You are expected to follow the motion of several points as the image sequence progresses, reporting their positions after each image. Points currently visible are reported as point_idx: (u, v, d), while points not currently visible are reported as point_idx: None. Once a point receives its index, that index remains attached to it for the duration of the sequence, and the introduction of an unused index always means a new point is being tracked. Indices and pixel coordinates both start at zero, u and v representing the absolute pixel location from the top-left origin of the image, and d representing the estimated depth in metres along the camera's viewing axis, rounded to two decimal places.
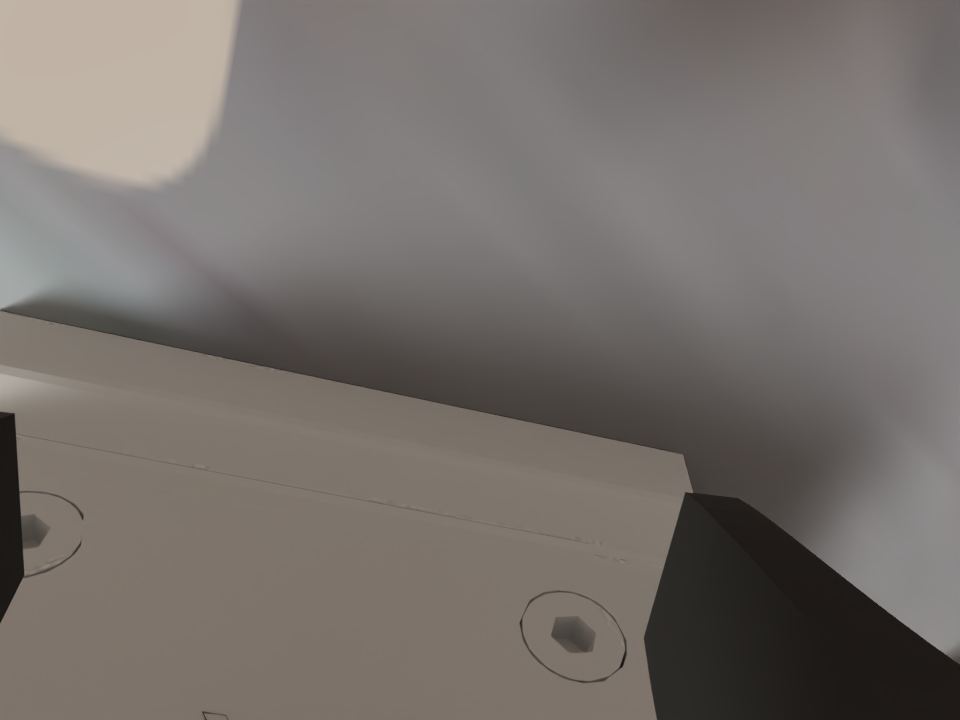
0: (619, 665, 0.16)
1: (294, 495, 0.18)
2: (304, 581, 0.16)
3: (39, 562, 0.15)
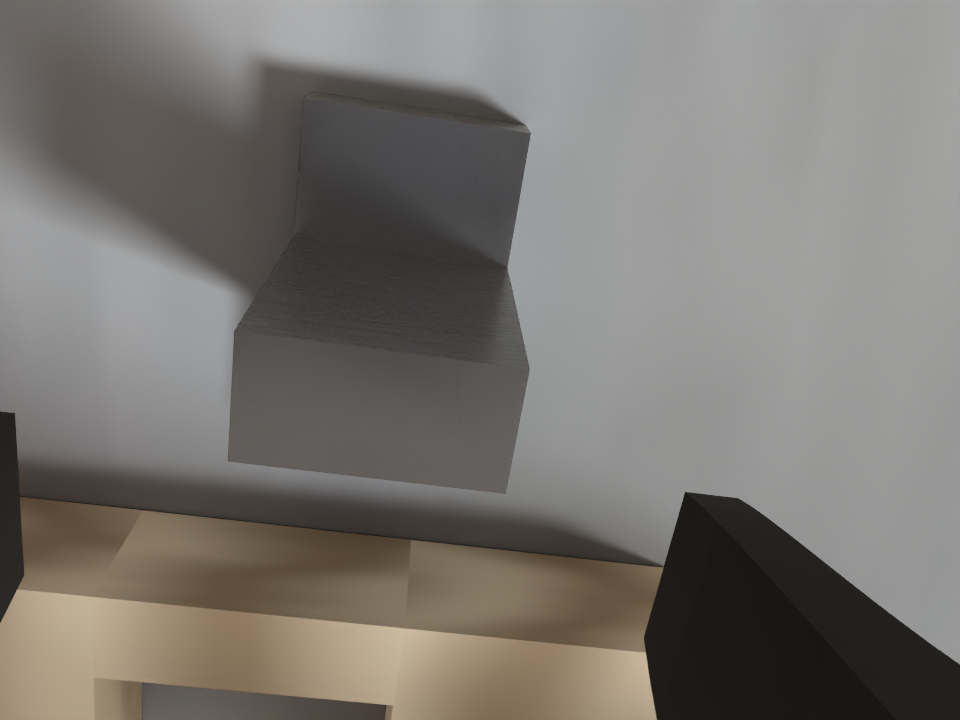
0: None
1: None
2: None
3: None
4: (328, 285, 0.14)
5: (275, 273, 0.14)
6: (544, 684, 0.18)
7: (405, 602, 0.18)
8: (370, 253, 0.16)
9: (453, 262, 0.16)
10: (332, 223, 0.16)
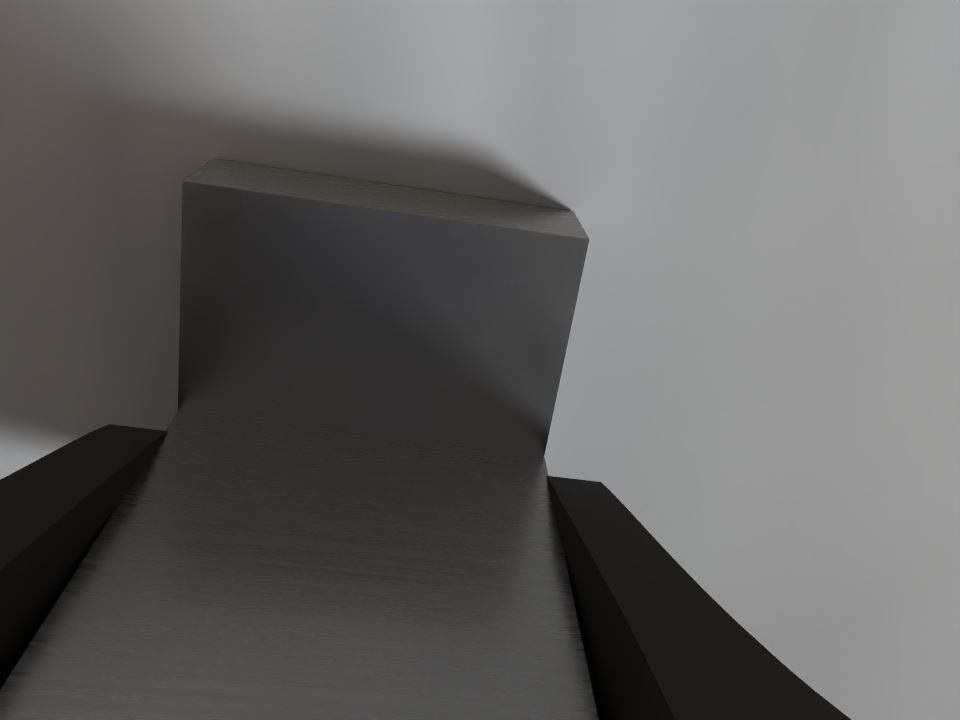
0: None
1: None
2: None
3: None
4: (211, 559, 0.07)
5: (111, 530, 0.07)
6: None
7: None
8: (309, 441, 0.09)
9: (452, 452, 0.09)
10: (243, 389, 0.09)
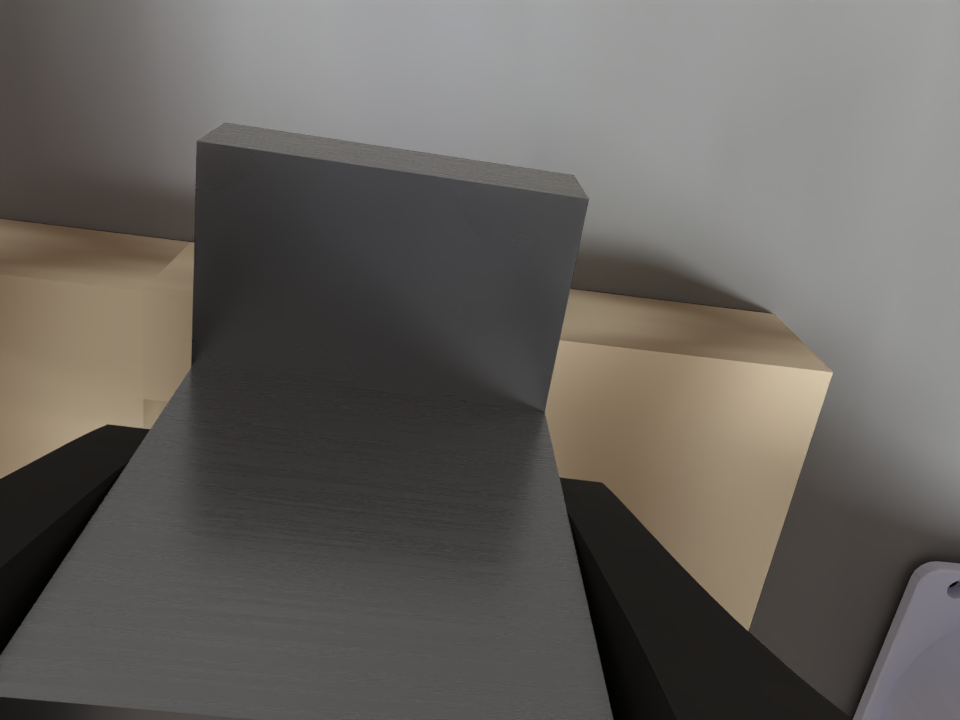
0: None
1: None
2: None
3: None
4: (227, 498, 0.07)
5: (131, 471, 0.08)
6: (655, 407, 0.16)
7: None
8: (318, 394, 0.09)
9: (456, 407, 0.10)
10: (255, 345, 0.10)
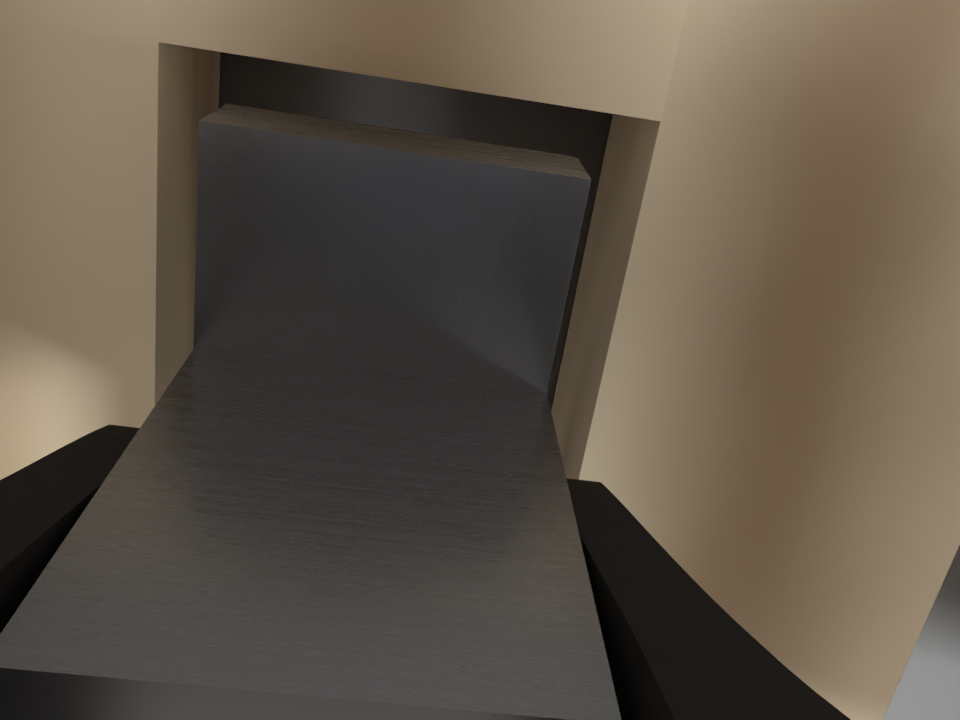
0: None
1: None
2: None
3: None
4: (229, 475, 0.07)
5: (133, 449, 0.08)
6: (919, 81, 0.10)
7: None
8: (320, 376, 0.09)
9: (459, 388, 0.10)
10: (257, 327, 0.10)
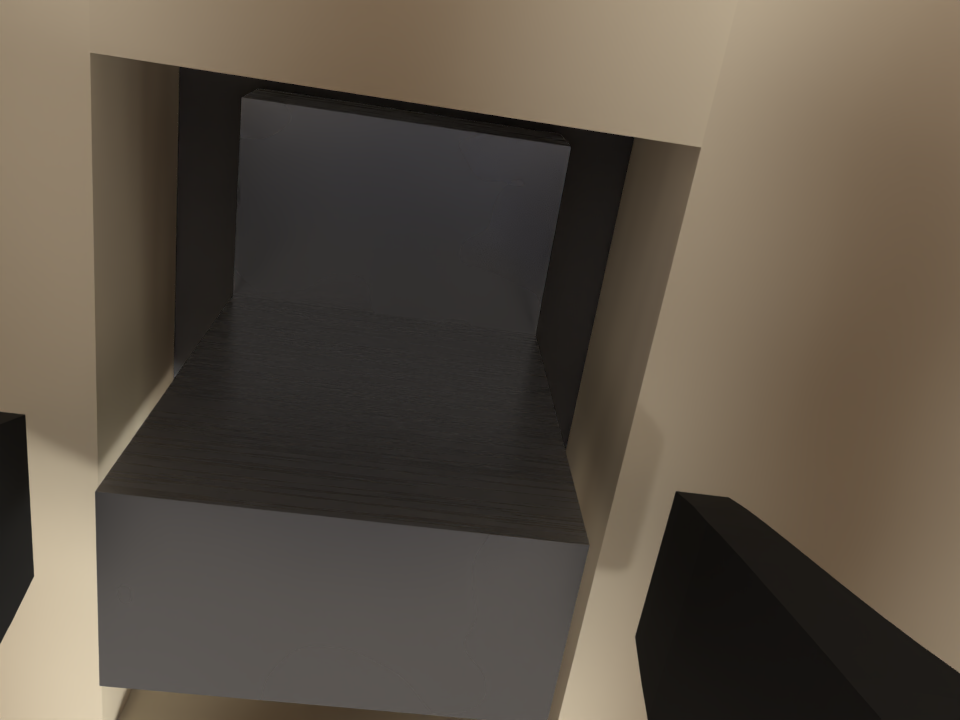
0: None
1: None
2: None
3: None
4: (272, 381, 0.09)
5: (192, 362, 0.09)
6: None
7: None
8: (342, 317, 0.11)
9: (460, 328, 0.11)
10: (288, 275, 0.11)
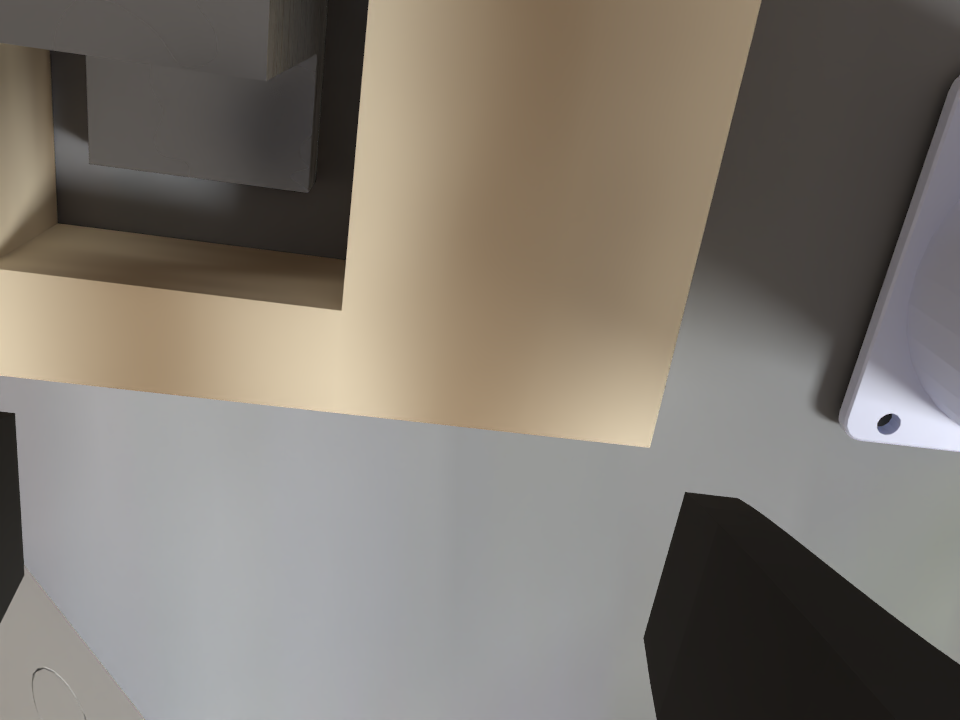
0: None
1: None
2: None
3: None
4: None
5: None
6: None
7: None
8: None
9: None
10: None
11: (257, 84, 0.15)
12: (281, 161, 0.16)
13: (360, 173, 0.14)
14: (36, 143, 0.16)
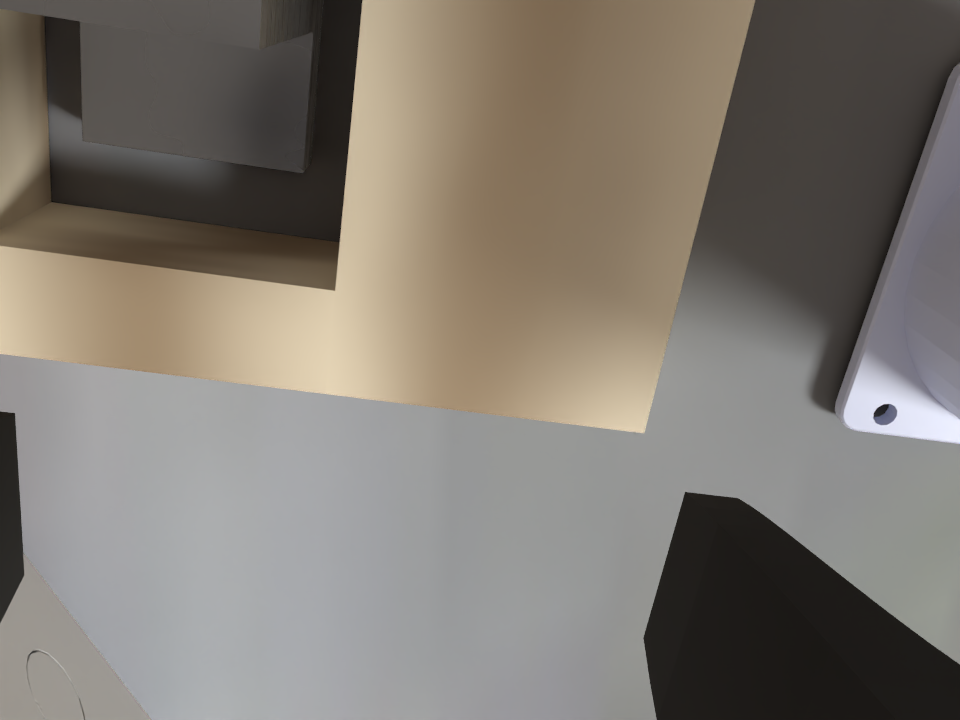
0: None
1: None
2: None
3: None
4: None
5: None
6: None
7: None
8: None
9: None
10: None
11: (252, 62, 0.15)
12: (276, 141, 0.16)
13: (355, 151, 0.14)
14: (30, 120, 0.16)
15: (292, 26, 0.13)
